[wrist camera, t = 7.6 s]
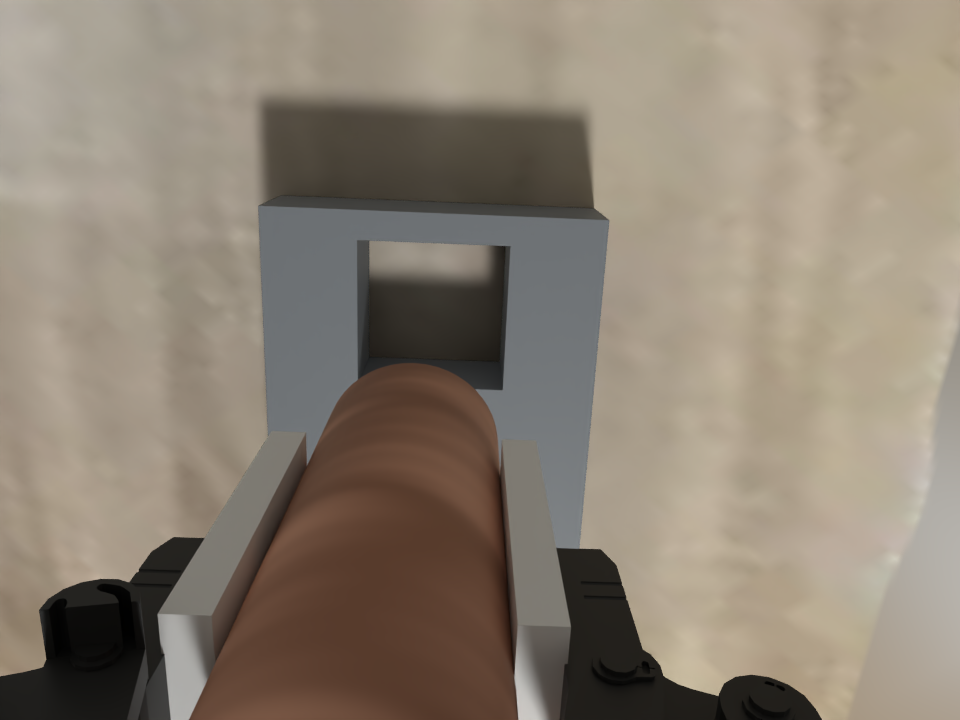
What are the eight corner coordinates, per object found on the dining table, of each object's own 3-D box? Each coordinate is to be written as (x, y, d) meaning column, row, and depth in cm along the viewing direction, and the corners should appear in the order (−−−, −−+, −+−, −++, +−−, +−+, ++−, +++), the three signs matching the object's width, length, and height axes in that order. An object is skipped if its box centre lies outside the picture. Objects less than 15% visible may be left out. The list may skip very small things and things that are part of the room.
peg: (327, 517, 21) (67, 1250, 7) (324, 360, 19) (1, 908, 6) (493, 523, 21) (529, 1257, 8) (502, 366, 20) (563, 921, 6)
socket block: (293, 553, 40) (275, 600, 37) (281, 195, 35) (258, 205, 31) (564, 562, 41) (573, 608, 37) (594, 208, 35) (609, 220, 31)
